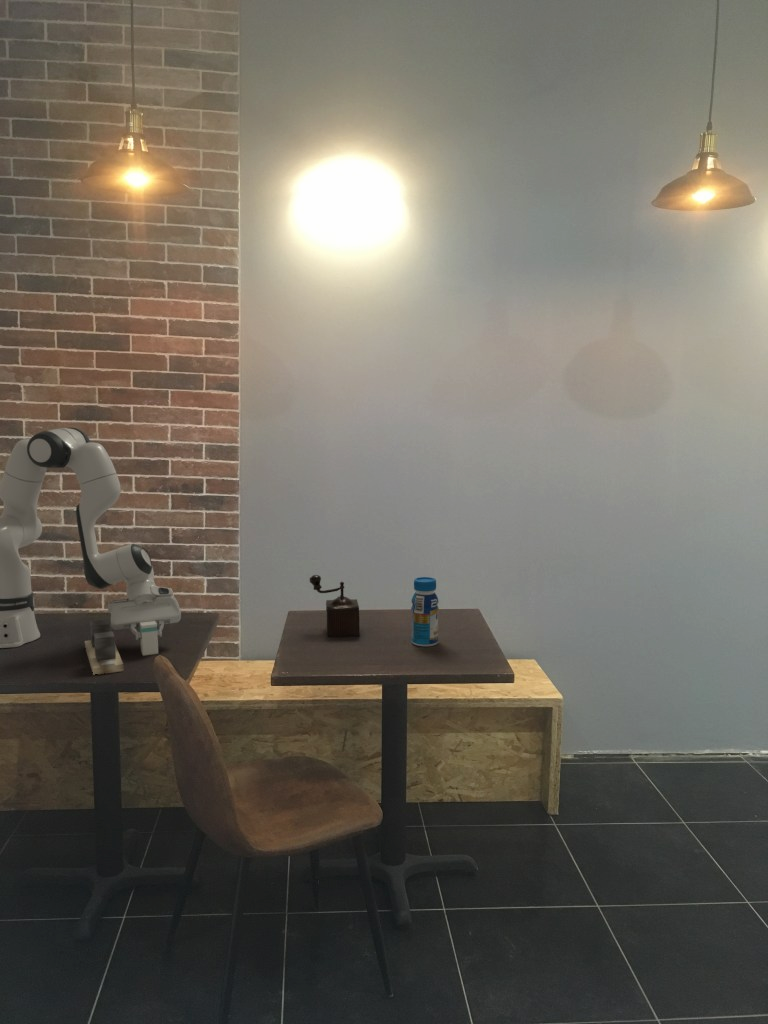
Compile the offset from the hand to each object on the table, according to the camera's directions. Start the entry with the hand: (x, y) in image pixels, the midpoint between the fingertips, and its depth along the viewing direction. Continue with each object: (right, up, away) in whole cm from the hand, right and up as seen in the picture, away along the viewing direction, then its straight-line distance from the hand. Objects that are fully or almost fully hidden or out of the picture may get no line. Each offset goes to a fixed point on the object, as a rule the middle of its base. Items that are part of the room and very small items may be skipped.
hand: (149, 637), depth 242 cm
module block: (0, -5, +1) cm, 5 cm away
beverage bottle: (+82, -3, +10) cm, 82 cm away
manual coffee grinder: (+53, -2, +21) cm, 57 cm away
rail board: (-12, -5, -4) cm, 14 cm away
